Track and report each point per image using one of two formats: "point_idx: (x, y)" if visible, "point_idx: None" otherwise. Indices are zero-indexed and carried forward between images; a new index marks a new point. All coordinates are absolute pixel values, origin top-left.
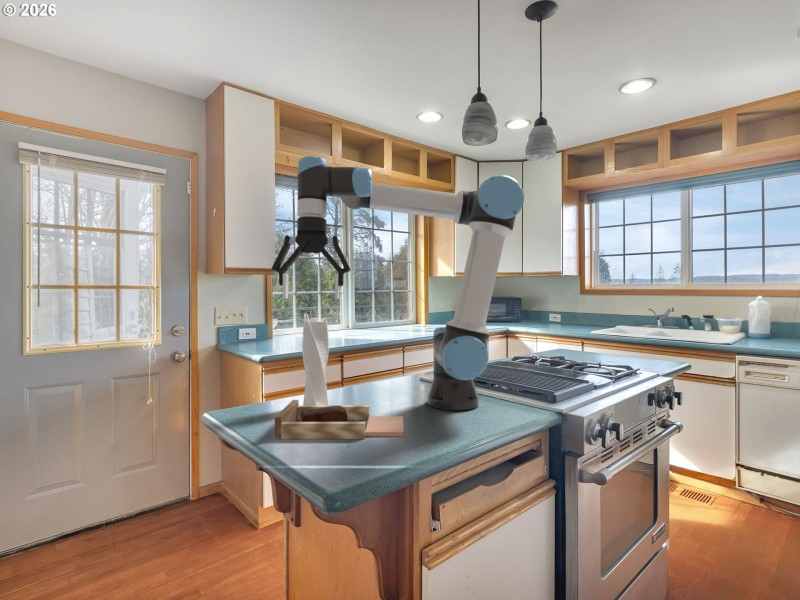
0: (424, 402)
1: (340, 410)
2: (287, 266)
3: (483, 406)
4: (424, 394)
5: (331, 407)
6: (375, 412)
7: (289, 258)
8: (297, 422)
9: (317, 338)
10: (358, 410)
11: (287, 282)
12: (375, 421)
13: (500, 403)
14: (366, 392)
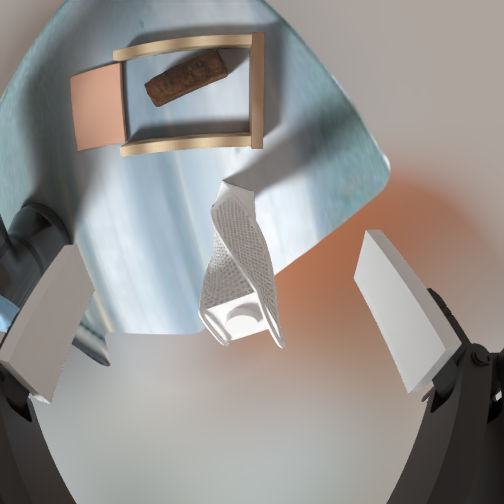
0: None
1: (153, 79)
2: (458, 407)
3: None
4: None
5: (171, 87)
6: (127, 186)
7: (467, 480)
8: (225, 41)
9: (226, 263)
10: (139, 143)
11: (394, 331)
12: (111, 116)
13: None
14: (174, 297)
